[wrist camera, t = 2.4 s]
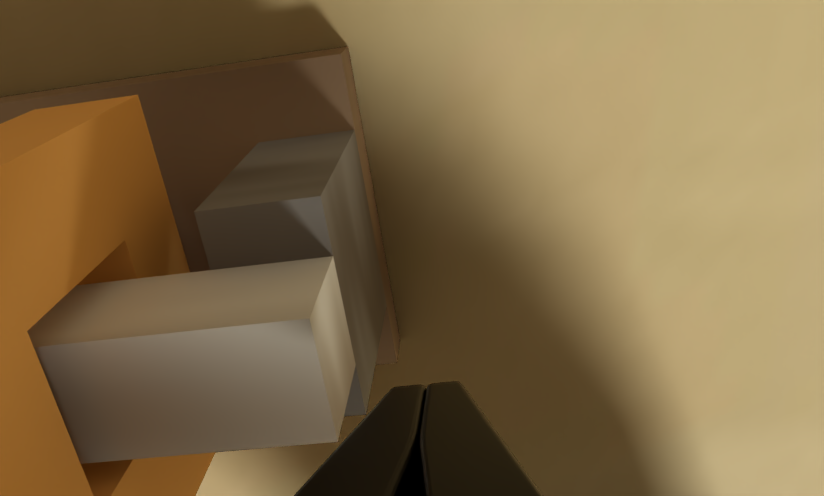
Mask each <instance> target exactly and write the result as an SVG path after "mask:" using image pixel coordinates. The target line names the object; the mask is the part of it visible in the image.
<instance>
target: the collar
mask: <svg viewBox="0 0 824 496" xmlns="http://www.w3.org/2000/svg"><path fill="white" fill-rule="evenodd" d="M181 273H190V270H189V267H188V263H187V260H186V257H185V253H184V250H183V246H182V243H181V240H180V236H179V233H178V229H177V226H176V223H175V219H174V216H173V212H172V209H171V205H170V202H169V199H168V195H167V192H166V188H165V185H164V182H163V178H162V175H161V171H160V168H159V165H158V161H157V158H156V154H155V151H154V148H153V144H152V141H151V137H150V134H149V131H148V127H147V124H146V120H145V117H144V114H143V110H142V107H141V103H140V100H139V97H138V95H132V96H125V97H118V98H111V99H104V100H97V101H90V102H83V103H76V104H69V105H62V106H55V107H48V108H41V109H34V110H32V111H29V112H27V113H25V114H22V115H20V116H18V117H15V118H13V119H11V120H8V121H6V122H4V123H1V124H0V496H195V495H196V493H197V491H198V489H199V487H200V484H201V482H202V480H203V478H204V476H205V474H206V471H207V469H208V467H209V465H210V463H211V461H212V459H213V456H214V454H215V452H213V453H201V454H190V455H178V456H166V457H155V458H143V459H131V460H120V461H108V462H96V463H84V464H81V463H80V461H79V458H78V456H77V453H76V451H75V448H74V446H73V443H72V441H71V438H70V436H69V433H68V431H67V429H66V426H65V424H64V421H63V419H62V416H61V414H60V411H59V409H58V406H57V404H56V401H55V399H54V396H53V394H52V391H51V389H50V386H49V384H48V381H47V379H46V376H45V374H44V371H43V369H42V366H41V364H40V362H39V359H38V357H37V354H36V352H35V349H34V347H33V344H32V342H31V339H30V337H29V334H28V332H27V331H28V330H29V329H30V328H31V327H32V326H33V325H34V324H36V323H37V322H38V321H39V320H40V319H41V318H42V317H43V316H44V315H45V314H46V313H47V312H48V311H49V310H50V309H52V308H53V307H54V306H55V305H56V304H57V303H58V302H59V301H60V300H61V299H62V298H63V297H64V296H65V295H67V294H68V293H69V292H70V291H71V290H72V289H73V288H74V287H75V286H76V285H85V284H94V283H102V282H111V281H120V280H129V279H137V278H146V277H155V276H164V275H172V274H181Z"/></svg>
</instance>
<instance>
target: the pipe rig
mask: <svg viewBox="0 0 824 496" xmlns="http://www.w3.org/2000/svg"><path fill="white" fill-rule="evenodd" d="M132 95H138V97H139V100H140V103H141V107H142V110H143V114H144V117H145V120H146V124H147V127H148V131H149V134H150V137H151V141H152V144H153V148H154V151H155V154H156V158H157V161H158V165H159V168H160V171H161V175H162V178H163V182H164V185H165V188H166V192H167V195H168V199H169V202H170V205H171V209H172V212H173V216H174V219H175V223H176V226H177V229H178V233H179V236H180V240H181V243H182V246H183V250H184V253H185V257H186V260H187V263H188V267H189V270H190V273H181V274H172V275H164V276H155V277H146V278H137V279H129V280H120V281H111V282H102V283H94V284H85V285H76V286H75V287H74V288H73V289H72V290H71V291H70V292H69V293H68V294H67V295H65V296H64V297H63V298H62V299H61V300H60V301H59V302H58V303H57V304H56V305H55V306H54V307H53V308H52V309H50V310H49V311H48V312H47V313H46V314H45V315H44V316H43V317H42V318H41V319H40V320H39V321H38V322H37V323H36V324H34V325H33V326H32V327H31V328H30V329H29V330H28V331H27V332H28V334H29V337H30V339H31V342H32V344H33V347H34V349H35V352H36V354H37V357H38V359H39V362H40V364H41V366H42V369H43V371H44V374H45V376H46V379H47V381H48V384H49V386H50V389H51V391H52V394H53V396H54V399H55V401H56V404H57V406H58V409H59V411H60V414H61V416H62V419H63V421H64V424H65V426H66V429H67V431H68V433H69V436H70V438H71V441H72V443H73V446H74V448H75V451H76V453H77V456H78V458H79V461H80V463H81V464H84V463H96V462H108V461H120V460H131V459H143V458H155V457H166V456H178V455H190V454H201V453H213V452H225V451H236V450H248V449H260V448H271V447H283V446H295V445H306V444H318V443H330V442H338V439H339V435H340V430H341V426H342V422H343V417H344V416H354V415H366V412H367V407H368V401H369V396H370V391H371V386H372V380H373V375H374V370H375V365H380V364H390V363H397V360H398V353H399V346H400V336H399V331H398V325H397V319H396V314H395V308H394V302H393V297H392V291H391V286H390V280H389V274H388V269H387V263H386V257H385V252H384V246H383V241H382V235H381V229H380V224H379V218H378V212H377V207H376V201H375V196H374V190H373V184H372V179H371V173H370V167H369V162H368V156H367V151H366V145H365V139H364V134H363V128H362V122H361V117H360V111H359V106H358V100H357V94H356V89H355V83H354V77H353V72H352V66H351V61H350V55H349V49H348V46H347V47H340V48H333V49H326V50H319V51H312V52H306V53H299V54H292V55H285V56H278V57H271V58H265V59H258V60H251V61H244V62H237V63H230V64H224V65H217V66H210V67H203V68H196V69H189V70H183V71H176V72H169V73H162V74H155V75H148V76H141V77H135V78H128V79H121V80H114V81H107V82H100V83H94V84H87V85H80V86H73V87H66V88H59V89H53V90H46V91H39V92H32V93H25V94H18V95H12V96H5V97H0V124H1V123H4V122H6V121H8V120H11V119H13V118H15V117H18V116H20V115H22V114H25V113H27V112H29V111H32V110H34V109H41V108H48V107H55V106H62V105H69V104H76V103H83V102H90V101H97V100H104V99H111V98H118V97H125V96H132Z"/></svg>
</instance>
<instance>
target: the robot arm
mask: <svg viewBox="0 0 824 496" xmlns="http://www.w3.org/2000/svg"><path fill="white" fill-rule="evenodd" d="M294 496H543V495H542V494H541V492H540V491H539V490H538V488H537V487H536V485H535V484H534V483H533V481H532V480H531V479H530V477H529V476H528V474H527V473H526V472H525V470H524V469H523V468H522V466H521V465H520V463H519V462H518V461H517V459H516V458H515V456H514V455H513V454H512V452H511V451H510V450H509V448H508V447H507V445H506V444H505V443H504V441H503V440H502V439H501V437H500V436H499V434H498V433H497V432H496V430H495V429H494V428H493V426H492V425H491V423H490V422H489V421H488V419H487V418H486V416H485V415H484V414H483V412H482V411H481V410H480V408H479V407H478V405H477V404H476V403H475V401H474V400H473V399H472V397H471V396H470V394H469V393H468V392H467V390H466V389H465V387H464V386H463V385H462V384H461V383H460V382H458V381H453V382H442V383H432V384H430V385H429V386H428V387H427V389H426V387H425V386H423V385H411V386H400V387H394V388H392V389H391V390H390V391H389V392H388V393H387V394H386V395H385V396H384V398H383V399H382V400H381V401H380V402H379V403H378V404H377V405H376V406H375V407H374V409H373V410H372V411H371V412H370V413H369V414H368V415H367V416H366V417H365V418H364V419H363V421H362V422H361V423H360V424H359V425H358V426H357V427H356V428H355V429H354V430H353V432H352V433H351V434H350V435H349V436H348V437H347V438H346V439H345V440H344V441H343V442H342V444H341V445H340V446H339V447H338V448H337V449H336V450H335V451H334V452H333V453H332V455H331V456H330V457H329V458H328V459H327V460H326V461H325V462H324V463H323V464H322V465H321V467H320V468H319V469H318V470H317V471H316V472H315V473H314V474H313V475H312V476H311V478H310V479H309V480H308V481H307V482H306V483H305V484H304V485H303V486H302V487H301V488H300V490H299V491H298V492H297V493H296V494H295V495H294Z"/></svg>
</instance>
